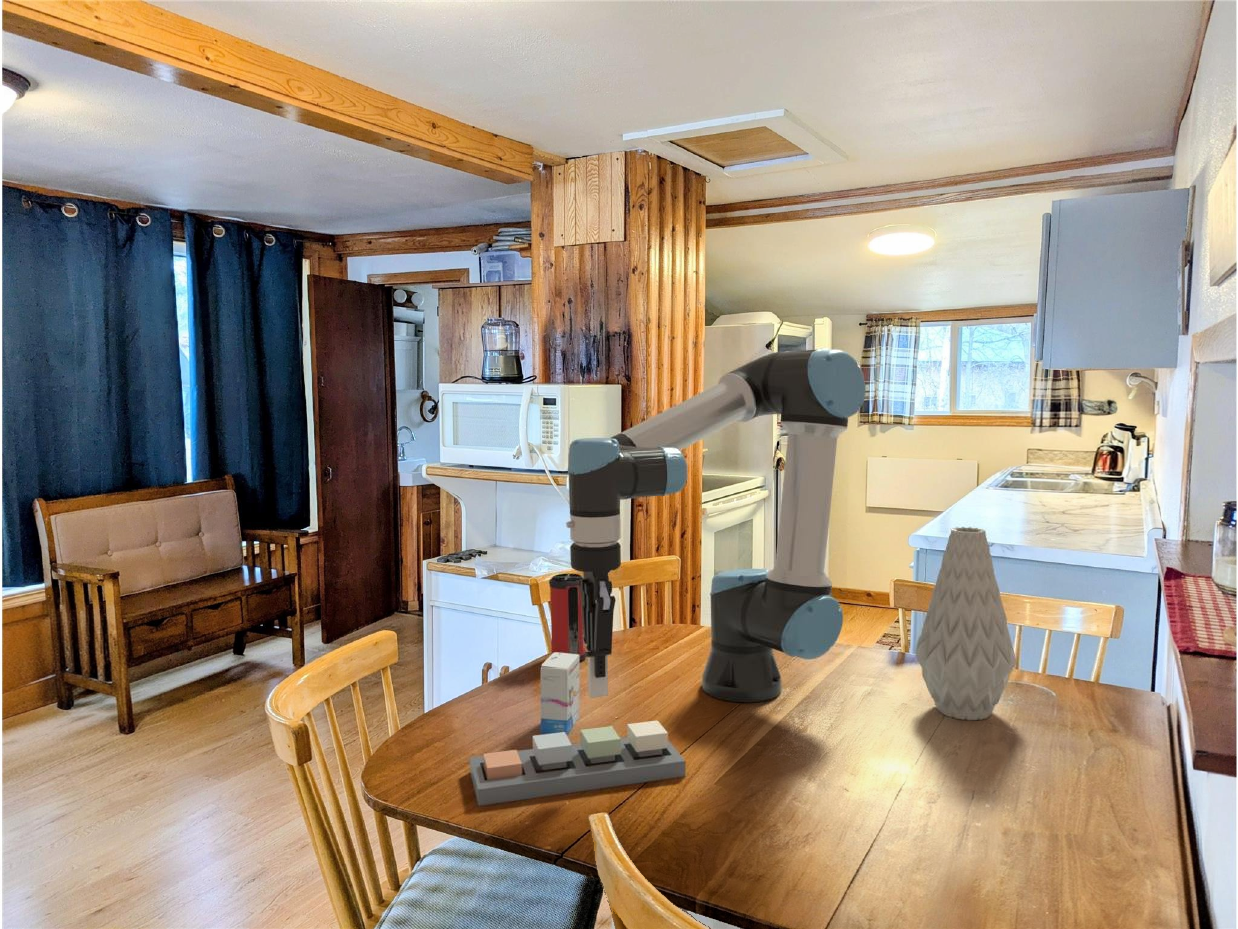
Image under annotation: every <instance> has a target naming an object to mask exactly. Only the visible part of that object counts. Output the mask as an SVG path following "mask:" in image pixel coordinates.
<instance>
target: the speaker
mask: <svg viewBox="0 0 1238 929" xmlns="http://www.w3.org/2000/svg"><path fill="white" fill-rule="evenodd" d="M582 576H583V575H580V574H577V573H571V572H570V573H569V572H568V573H558V574H556V575H552V577H551V578H550V579H549V580H548V584H549V591H550V592H549V593H550V619H551V620H550V626H551V628H550V629H551V632H550V634H551V638H550V639H551V641H550V644H551V650H550V651H551V654H550V656H551V655H552V654H553V653H555V652H558V653H568V654H578V655H579V662H582V661H584V660H585V659H586V658H587V656H586V652H587V649H586V644H585V643H584V640H583V639H584V633H583V620H582V606H581V594H580V587H579V580H581V579H584V577H582Z"/></svg>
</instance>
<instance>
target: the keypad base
mask: <svg viewBox="0 0 1238 929" xmlns="http://www.w3.org/2000/svg"><path fill="white" fill-rule="evenodd" d="M620 739H621V754H618V755H615V761H614V762H609V763H604V764H597V765H589V766H586V765H588V764H592V763H591V761H590V759H589V758H588V757H587V755H586V753H585V751H584V750H583V748H582V746H581V742H578V743H571V744H572V761H567V769H560V770H553V771H545V772H539V773H538V772H536V771H544V770H543V769H542V767H541V765H539V764H538V762H537V760H536V757H535V755H534V753H533V748H529V749H523V750H521V749H520V750H517V752H518V755H519V758H520V760H521V763H522V776H514V777H507V778H499V779H492V780H487V779H486V780H485V778H486V775H485V772H484V759H483V754H482V755H475V756H474V755H473V756H469V767H470V768H469V772H470V777H471V781H472V785H473V789H474V792H475V797H476V802H477V806H478V807H479V806H487V805H494V804H500V803H508V802H514V801H521V800H522V801H523V800H529V799H530V800H531V799H535V798H543V797H550V796H556V795H557V796H558V795H564V794H571V793H576V792H577V793H578V792H584V791H591V790H599V789H605V788H612V787H619V786H620V787H621V786H626V785H634V784H640V783H641V784H642V783H647V782H654V781H661V780H668V779H676V778H683V777H686V760H685V758H684V757H683V756H682V755H681V754H680V752H679V751H678V750H677V749H676V748H675V747H674V745H673V744H672V742H671V741H670V740H669V739H668V748H663V749H662V754H659V755H660V756H657V757H654V756H653V757H649V758H640V757H639V755H638V754H637V753H636V751H635V750H634V748H633V746H632V745H631V743H630V742H629V741H628V739H627V736H625V737H620ZM634 758H640V759H634Z"/></svg>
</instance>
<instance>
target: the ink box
mask: <svg viewBox="0 0 1238 929" xmlns="http://www.w3.org/2000/svg"><path fill="white" fill-rule="evenodd" d="M579 718H580V661H579V655H578V654H568V653H558V652H555V653H553V654H552V655H551V654H550V656H549V657H547V658H546V659H545V661H544V662H542V664H541V667H540V735H544V734H552V733H560V732H565V733H566V735H567V736H568V735H569V733H570V732H571V731H572V728H573V727H574V725H575V724H576V722H577V721H578V719H579Z"/></svg>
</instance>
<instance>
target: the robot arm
mask: <svg viewBox="0 0 1238 929" xmlns="http://www.w3.org/2000/svg"><path fill="white" fill-rule="evenodd" d="M865 398H866V381H865V375H864V372H863V370H862V368H861V367H860V365H859V364H858V362H857V360H856V359H855V358H854V357H853V355H851V354H850V353H848V352H846V351H844V350H842V349H841V350H840V349H829V348H818V349H806V350H805V349H804V350H791V351H790V350H789V351H788V350H787V351H786V350H785V351H775V352H773V353H772V352H771V353H768V354H767V355H763V356H761V357H759V358H756V359H754V360H751V361H749V362H748V363H746V364H743V365H742V366H740V367H737V368H735V369H734V370H731V371H729V372H727V373H726V374H723V375H722V376H721V377H720V378H719V379H718V383H717V384H716V385H714V386H712V387H710V388H708V389H706V390H704V391H701V392H700V393H697V394H695V395H694V396H692V397H690V398H688V399H685V400H684V401H682V402H680V403H678V404H676V405H674V406H671V407H669V408H668V409H666V410H664V411H662V412H660V413H658V414H656V415H654V416H652V417H650V418H648V419H646V420H644V421H642V422H640V423H638V424H636V425H634V426H632V427H630V428H628V429H625V430H624V431H622V432H620V433H618V434H616V435H613V436H611V437H586V438H578V439H577V438H576V439H574V440H573V441H571V443H570V444H569V448H568V458H567V459H568V460H567V463H568V465H567V473H568V495H569V496H568V498H569V500H568V501H569V502H568V503H569V504H568V505H569V518H570V521H567V522H566V524H565V526H566V528H568V529H570V530H569V531H570V532H569V533H570V535H569V536H570V538H569V539H570V540H571V542H572V544H571V545H570V567H571V569H573V570H574V571H577V572H581V573H583V575H582V576H583V578H584V579H581V580H579V587H580V594H581V606H582V620H583V633H584V639H583V640H584V643H585V649H586V658H587V685H588V687H587V688H588V696H589V697H590V698H591V699H592V698H600V697H601V698H602V697H603V698H604V697H608V696H609V676H608V674H609V673H608V668H609V664H608V656H609V655H612V652H613V630H614V629H613V628H614V610H615V606H616V601H617V600H616V597H615V595H611V594H612V593H613V583H612V581H611V580H610V577H609V573H610V572H612V571H615V570H618V569H619V568H620V567H621V565H622V553H621V552H622V550H621V549H622V547H621V544H620V542H619V540H620V539H621V537H622V533H621V532H622V531H621V530H622V529H621V528H622V526H621V524H622V523H621V522H622V521H621V520H622V519H621V500H623V501H624V500H629V499H630V500H631V499H637V498H639V499H640V498H648V497H649V498H651V497H659V496H660V497H665V496H667V495H672V494H677V493H679V492H681V490H682V489H683V488H685V485H686V483H687V480H688V463H687V460H686V458H685V456H684V454H683V453H682V452H681V451H682V450H684V449H687V448H688V447H690V446H692V445H694V444H696V443H698V442H699V441H701V440H703V439H705V438H707V437H709V436H711V435H713V434H715V433H716V432H718V431H721V430H722V429H724V428H726V427H728V426H730V425H731V424H733V423H735V422H739V423H747V422H749V421H751V420H753V419H754V418H757V417H760V416H769V415H770V416H771V415H780V425H781V426H782V428H783V429H784V430H785V431H786V433H787V441H786V442H787V443H786V450H785V451H786V453H785V460H784V469H783V470H784V472H783V482H782V492H781V504H780V513H779V523H778V535H777V536H778V537H777V544H776V545H777V546H776V556H775V566H774V567H773V568H772V570H770V569H767V568H766V569H765V568H739V569H732V570H726V571H721V572H718V573H716V574H715V575H714V576H713V577H712V580H711V588H710V589H711V590H710V594H709V596H710V630H711V631H710V634H711V636H710V637H711V638H710V639H711V641H710V643H711V644H710V645H711V646H710V647H711V648H710V651H709V655H708V657H707V661H706V664H705V667H704V669H703V672H702V678H701V680H702V684H701V685H702V687H701V688H702V690H703V692H704V693H705V694H707V695H709V696H710V697H713V698H716V699H719V700H723V701H728V702H735V703H758V702H764V701H768V700H771V699H774V698H776V697H778V696H779V695H780V694H781V693H782V677H781V674H780V670H779V667H778V664H777V661H776V660H777V659H776V658H775V654H774V650H775V651H778V652H781V653H784V654H785V655H786V656H789V657H792V658H793V657H794V658H795V657H796V658H799V659H802V660H815V659H819V658H821V657H822V656H824V655H825V654H827V653H828V652H829V651H830V649H831V648H832V647H833V646H834V645H835V644H836V643H837V640H838V639H839V637H840V634H841V632H842V628H843V623H844V612H843V609H842V607H841V604H840V603H839V601H838V600H837V599H835V597H833V596H832V588H833V587H832V586H833V583H832V581H831V579H830V578H829V577H828V576H827V574H826V572H825V568H826V559H827V558H826V557H827V548H828V536H829V527H830V517H831V506H832V505H831V504H832V497H833V487H834V486H833V484H834V476H835V475H834V474H835V467H836V455H837V444H838V438H839V437H840V436H841V435H842V434H843V433H844V432H845V431H847V429H848V423H849V418H851V417H853V416H854V415H856V414H858V412H859V411H860V408H861V407H862V406H863V404H864V401H865Z"/></svg>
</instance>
